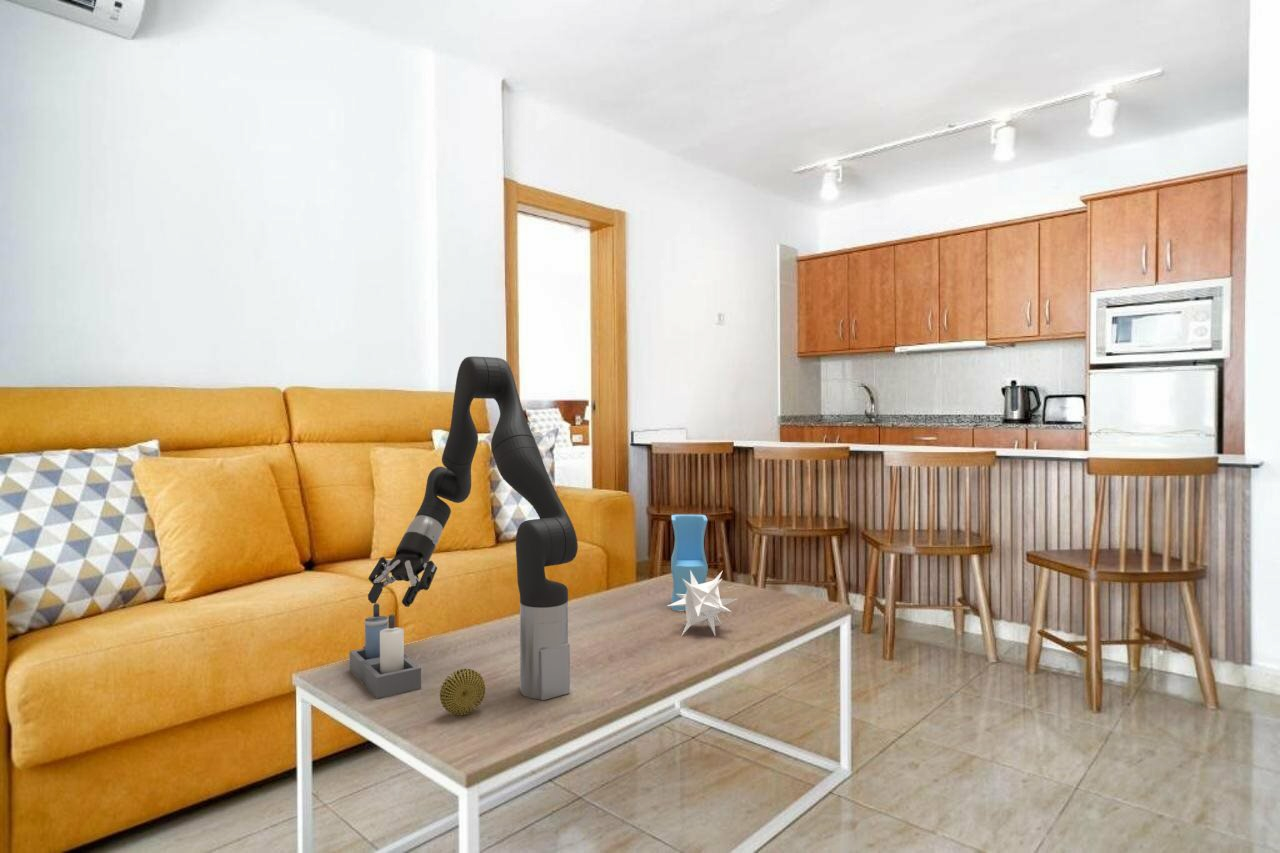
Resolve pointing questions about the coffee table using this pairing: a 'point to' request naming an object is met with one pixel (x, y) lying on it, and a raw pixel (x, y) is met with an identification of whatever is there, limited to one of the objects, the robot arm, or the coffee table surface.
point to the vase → (688, 553)
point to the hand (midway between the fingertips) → (388, 603)
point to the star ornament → (702, 602)
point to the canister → (374, 633)
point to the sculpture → (462, 692)
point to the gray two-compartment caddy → (387, 665)
